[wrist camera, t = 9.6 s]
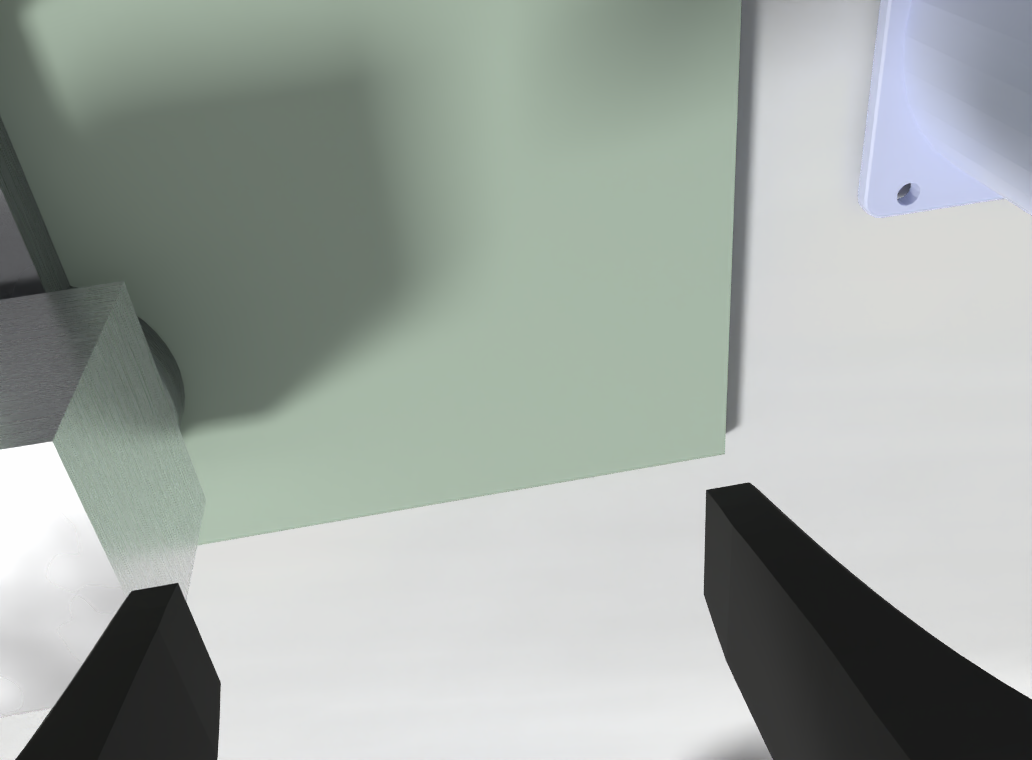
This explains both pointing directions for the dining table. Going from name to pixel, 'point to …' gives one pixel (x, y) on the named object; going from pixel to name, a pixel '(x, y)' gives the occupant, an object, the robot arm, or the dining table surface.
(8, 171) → the handled tool
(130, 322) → the brushed metal cube
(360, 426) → the mat
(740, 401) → the dining table surface
